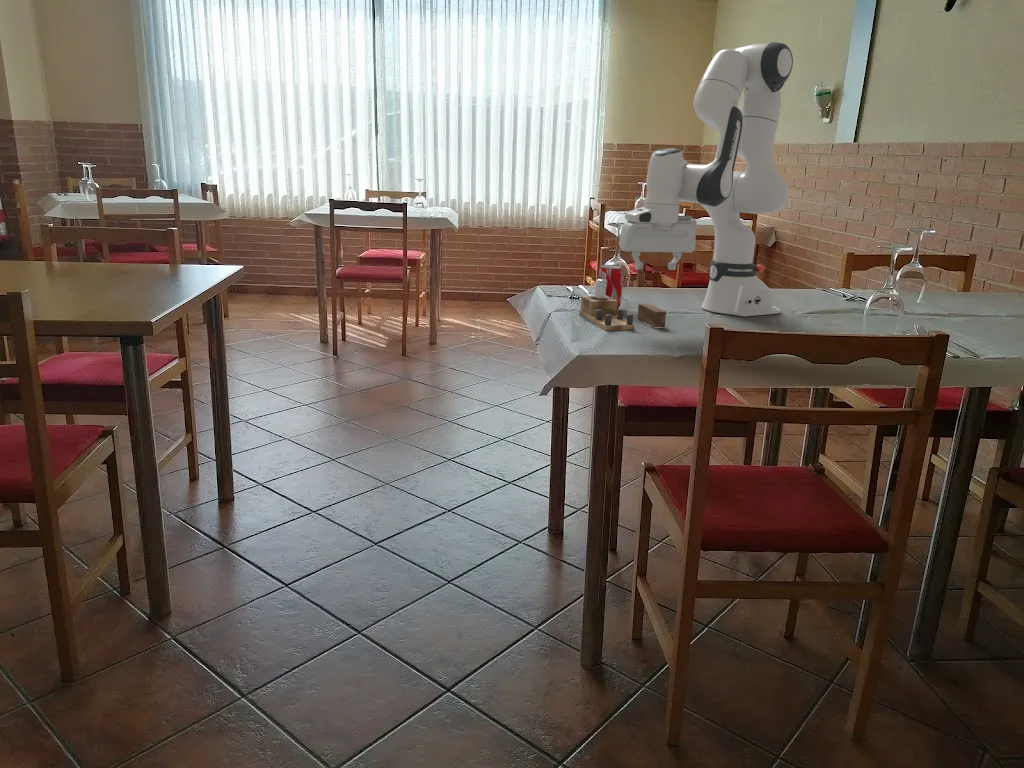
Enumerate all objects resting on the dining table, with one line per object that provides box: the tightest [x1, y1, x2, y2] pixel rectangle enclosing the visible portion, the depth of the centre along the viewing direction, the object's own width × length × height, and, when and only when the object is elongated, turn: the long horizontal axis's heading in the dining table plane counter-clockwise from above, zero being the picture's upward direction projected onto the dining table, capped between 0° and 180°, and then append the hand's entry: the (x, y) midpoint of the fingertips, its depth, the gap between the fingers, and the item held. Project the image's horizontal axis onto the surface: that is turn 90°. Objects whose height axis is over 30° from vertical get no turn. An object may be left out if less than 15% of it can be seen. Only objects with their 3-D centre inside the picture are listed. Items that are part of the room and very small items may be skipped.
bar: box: [636, 303, 667, 328], centre depth 204 cm, size 3×10×4 cm, turn 17°
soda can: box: [597, 264, 624, 309], centre depth 221 cm, size 7×7×12 cm
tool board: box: [578, 295, 636, 331], centre depth 204 cm, size 8×18×5 cm, turn 17°
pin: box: [594, 278, 607, 300], centre depth 208 cm, size 3×3×9 cm
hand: (655, 269), depth 201 cm, fingers open, 8 cm apart
